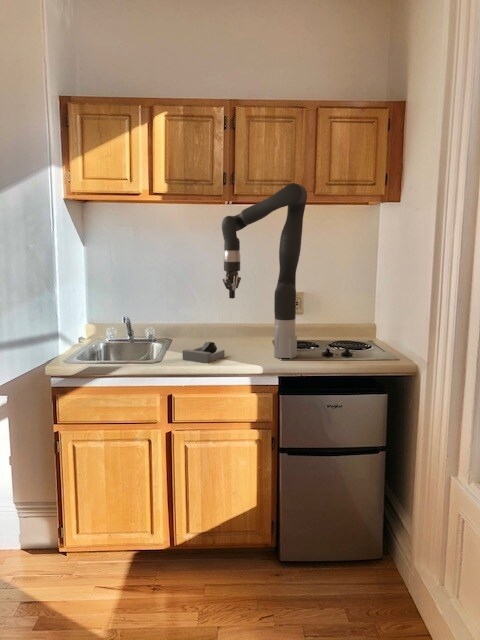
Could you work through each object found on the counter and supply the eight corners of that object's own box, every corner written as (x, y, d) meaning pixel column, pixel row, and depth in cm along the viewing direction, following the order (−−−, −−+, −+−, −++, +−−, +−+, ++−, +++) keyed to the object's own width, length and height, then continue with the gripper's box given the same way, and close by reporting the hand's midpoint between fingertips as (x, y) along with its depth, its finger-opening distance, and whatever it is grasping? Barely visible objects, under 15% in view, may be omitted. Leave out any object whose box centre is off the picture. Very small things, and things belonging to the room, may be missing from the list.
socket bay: (224, 356, 228) (224, 347, 228) (207, 363, 216) (207, 354, 216) (200, 353, 235) (200, 344, 234) (182, 359, 223) (182, 350, 222)
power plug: (191, 357, 223) (205, 337, 230) (198, 368, 228) (211, 349, 235) (202, 358, 220) (215, 339, 227) (208, 370, 225) (221, 350, 232)
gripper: (231, 261, 224) (231, 300, 227) (246, 260, 236) (246, 297, 239) (217, 260, 228) (217, 299, 231) (232, 259, 239) (232, 296, 242)
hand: (232, 298), depth 235 cm, fingers closed
